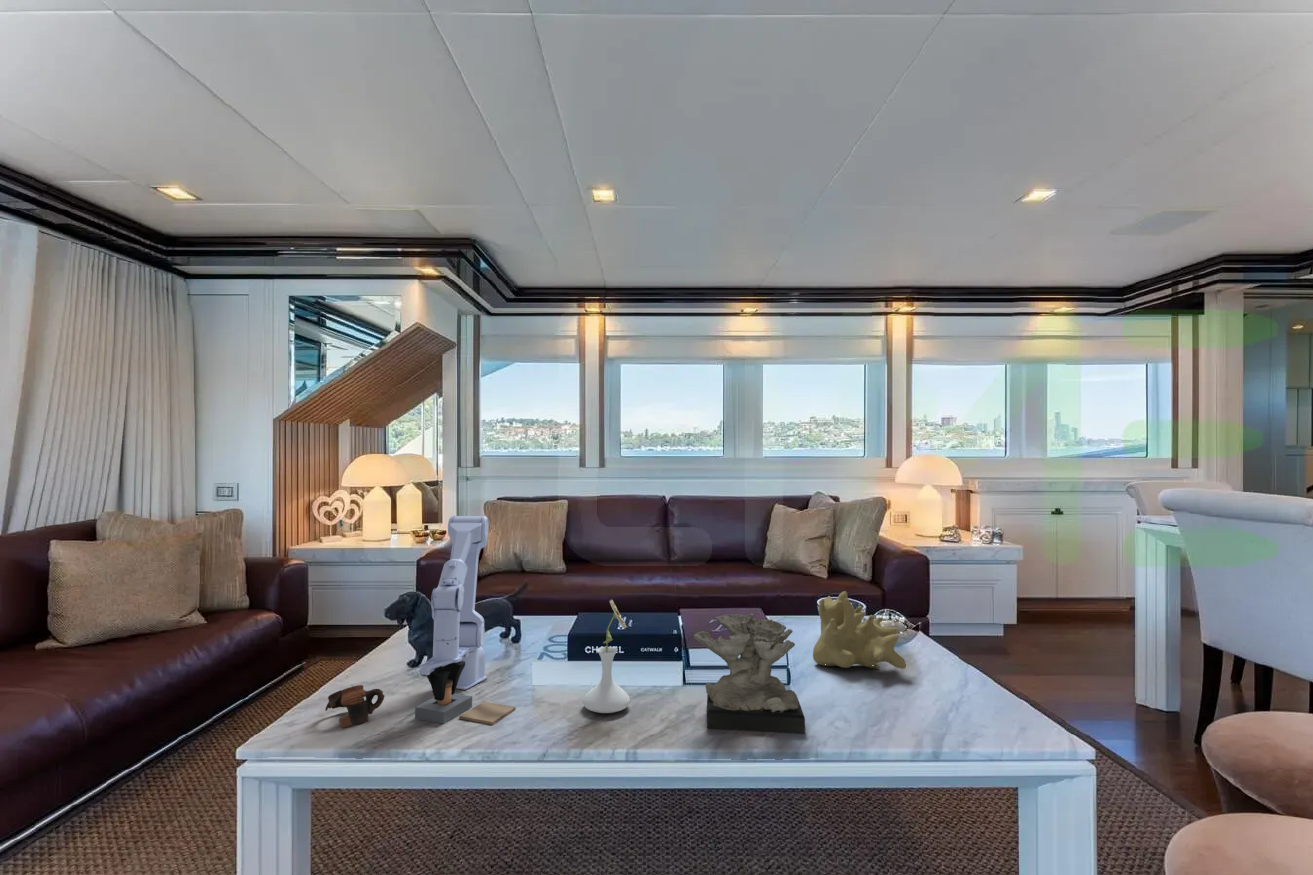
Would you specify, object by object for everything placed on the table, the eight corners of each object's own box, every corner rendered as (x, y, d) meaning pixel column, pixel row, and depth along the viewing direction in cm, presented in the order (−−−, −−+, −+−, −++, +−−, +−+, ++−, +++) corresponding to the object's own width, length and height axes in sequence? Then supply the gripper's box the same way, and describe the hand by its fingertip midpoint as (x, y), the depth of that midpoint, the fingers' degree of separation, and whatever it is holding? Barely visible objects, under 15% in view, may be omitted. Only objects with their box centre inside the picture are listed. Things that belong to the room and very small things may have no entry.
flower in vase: (623, 720, 135) (624, 609, 136) (575, 715, 137) (577, 606, 138) (636, 698, 148) (637, 597, 149) (592, 694, 150) (594, 594, 151)
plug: (443, 708, 140) (444, 678, 140) (454, 710, 139) (455, 680, 139) (433, 714, 137) (434, 683, 137) (445, 716, 136) (446, 685, 136)
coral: (690, 727, 132) (691, 629, 133) (696, 693, 152) (696, 608, 153) (805, 735, 128) (805, 635, 129) (795, 699, 148) (795, 612, 150)
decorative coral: (783, 614, 187) (848, 567, 185) (824, 663, 190) (887, 617, 188) (806, 659, 162) (881, 605, 159) (852, 715, 165) (926, 662, 163)
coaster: (483, 703, 143) (483, 701, 143) (515, 709, 140) (515, 706, 140) (459, 718, 135) (459, 715, 135) (492, 724, 132) (492, 722, 132)
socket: (444, 702, 144) (444, 691, 144) (471, 706, 141) (472, 696, 141) (414, 718, 135) (415, 706, 135) (443, 723, 132) (444, 712, 132)
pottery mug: (326, 734, 127) (319, 696, 130) (334, 737, 135) (328, 700, 138) (386, 711, 132) (378, 675, 135) (391, 715, 140) (384, 680, 143)
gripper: (439, 648, 131) (437, 710, 130) (479, 631, 144) (478, 688, 144) (413, 644, 133) (411, 706, 132) (455, 628, 147) (454, 684, 146)
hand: (444, 696), depth 138 cm, fingers closed on plug, 3 cm apart
